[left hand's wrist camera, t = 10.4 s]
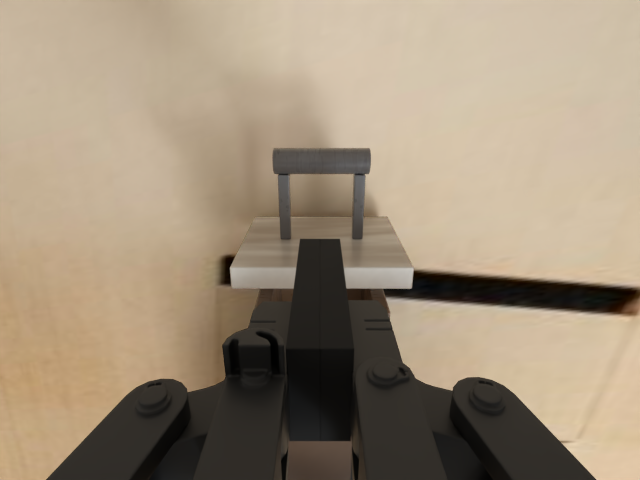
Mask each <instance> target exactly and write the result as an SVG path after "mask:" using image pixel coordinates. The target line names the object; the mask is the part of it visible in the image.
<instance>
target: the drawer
mask: <svg viewBox="0 0 640 480" xmlns="http://www.w3.org/2000/svg"><path fill="white" fill-rule="evenodd" d="M370 165H371V153H370V149H369V148H274V149H273V171H274V174H278V190H279V215H280V217H255V218H254V220H253V222H252V224H251V226H250V228H249V230H248V232H247V234H246V236H245V238H244V240H243V242H242V244H241V246H240V248H239V250H238V252H237V254H236V256H235V258H234V261H233V263H232V265H231V267H230V275H231V286H232V288H233V289H260V292H259V295H258V299H257V302H256V305H255V308H256V307H257V306H258V305H260V304H261V303H262V302H263V301H292V296H293V289H294V281H295V273H296V266H297V258H298V250H299V243H300V239H340V243H341V250H342V258H343V266H344V273H345V281H346V289H347V296H348V300H378V301H379V302H380V303H381V304H382V305H383V306H384V307H385V308H386V309H387V312H388V315H389V319H390V311H389V307H388V304H387V301H386V298H385V294H384V291H383V289H411V288H412V281H413V271H414V267H413V265H412V263H411V261H410V260H409V258H408V256H407V254H406V252H405V250H404V248H403V246H402V244H401V242H400V240H399V238H398V236H397V234H396V232H395V230H394V228H393V226H392V225H391V223H390V221H389V219H388V217H364V195H365V174H369V172H370ZM290 174H353V206H352V217H291V201H290Z"/></svg>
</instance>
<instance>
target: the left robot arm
mask: <svg viewBox="0 0 640 480" xmlns="http://www.w3.org/2000/svg"><path fill="white" fill-rule="evenodd" d="M222 347H223V356H224V365H225V374H226V377H225V380H224V381H222V382H220V383H218V384H216V385H214V386H211V387H208V388H204V389H200V390H196V391H192V392H188V393H187V388H186V387H185V386H184V385H183V384H182V383H181V382H179V381H176V380H173V379H158V380H154V381H149V382H147V383H145V384H143V385H140V386H138V387H136V388H135V389H134V390H133V391H131V392H130V393H129V394H128V395H126V396H125V397H124V398H123V399H122V401H121V402H120V403H119V404H118V405H117V406H116V407H115V408H114V409H113V410H112V411H111V412H110V413H109V414H108V415H107V416H106V417H105V418H104V419H103V420H102V422H101V423H100V424H99V425H98V426H97V427H96V428H95V429H94V430H93V431H92V432H91V433H90V434H89V435H88V436H87V437H86V438H85V439H84V440H83V442H82V443H81V444H80V445H79V446H78V447H77V448H76V449H75V450H74V451H73V452H72V453H71V454H70V455H69V456H68V457H67V458H66V459H65V460H64V462H63V463H62V464H61V465H60V466H59V467H58V468H57V469H56V470H55V471H54V472H53V473H52V474H51V475H50V476H49V477H48V478H47V479H46V480H287V479H288V466H289V453H288V443H289V441H352V453H351V478H350V480H596V479H595V478H594V477H593V476H592V475H591V474H590V473H589V472H588V471H587V469H586V468H585V467H584V466H583V465H582V464H581V463H580V462H579V461H578V460H577V459H576V458H575V457H574V456H573V455H572V454H571V453H570V452H569V451H568V450H567V449H566V448H565V446H564V445H563V444H562V443H561V442H560V441H559V440H558V439H557V438H556V437H555V436H554V435H553V434H552V433H551V432H550V431H549V430H548V429H547V428H546V427H545V426H544V425H543V423H542V422H541V421H540V420H539V419H538V418H537V417H536V416H535V415H534V414H533V413H532V412H531V411H530V410H529V409H528V408H527V407H526V406H525V405H524V404H523V403H522V402H521V401H520V399H519V398H518V397H517V396H516V395H515V394H514V393H512V392H511V391H510V390H509V389H507V388H506V387H505V386H503V385H501V384H499V383H497V382H495V381H493V380H489V379H485V378H480V377H471V378H465V379H463V380H460V381H458V382H457V384H456V385H455V386H454V387H453V391H451V390H446V389H442V388H438V387H434V386H431V385H428V384H425V383H423V382H421V381H419V380H417V379H416V378H415V377H414V375H413V373H412V371H411V370H410V368H409V367H407V366H406V365H405V364H403V362H402V359H401V356H400V352H399V349H398V345H397V342H396V339H395V335H394V332H393V330H392V325H391V322H390V319H389V315H388V312H387V309H386V308H385V307H384V306H383V305H382V304H381V303H380V302H379V301H378V300H348V296H347V289H346V281H345V273H344V266H343V258H342V250H341V243H340V239H300V243H299V250H298V258H297V266H296V273H295V281H294V289H293V296H292V301H263V302H262V303H261V304H260V305H258V306H257V307H256V308H255V309H254V310H253V313H252V317H251V320H250V323H249V327H248V329H244V330H241V331H239V332H236V333H234V334H233V335H231V336H230V337H228V338H227V339H226V341H225V342H224V344H223V345H222Z"/></svg>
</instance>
